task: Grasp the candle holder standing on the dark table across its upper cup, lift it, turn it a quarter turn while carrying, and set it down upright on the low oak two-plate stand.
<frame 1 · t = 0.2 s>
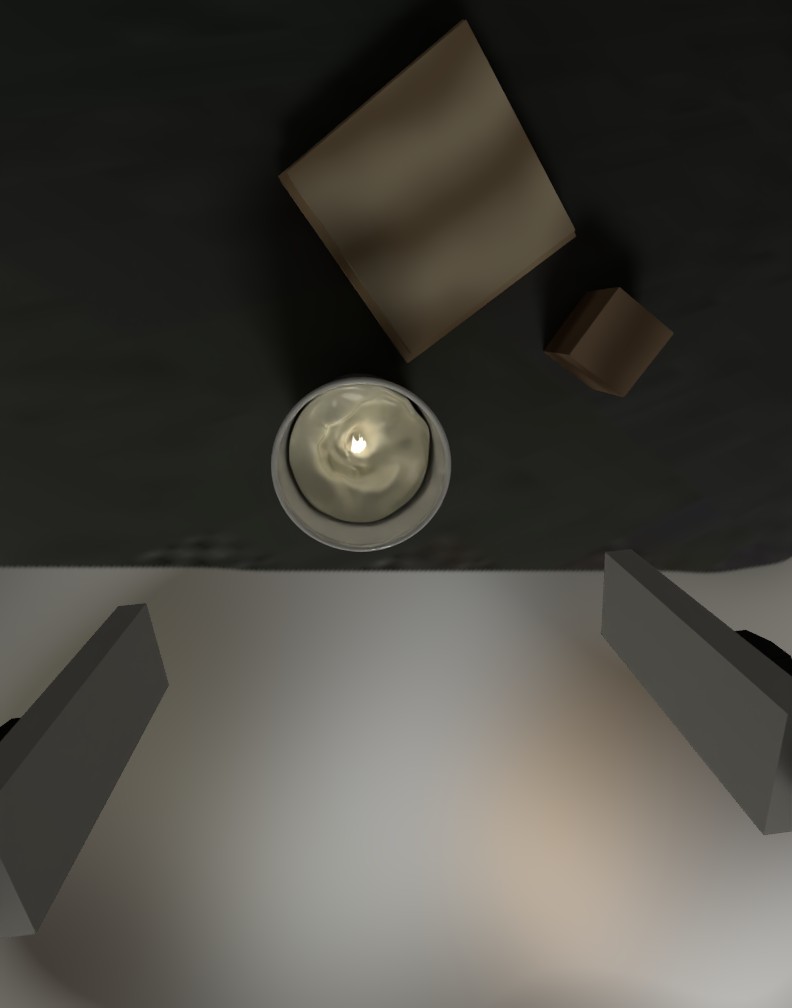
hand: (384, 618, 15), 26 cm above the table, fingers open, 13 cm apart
walnut block: (588, 341, 38), on the table
stand: (429, 212, 35), on the table
candle holder: (359, 427, 39), on the table
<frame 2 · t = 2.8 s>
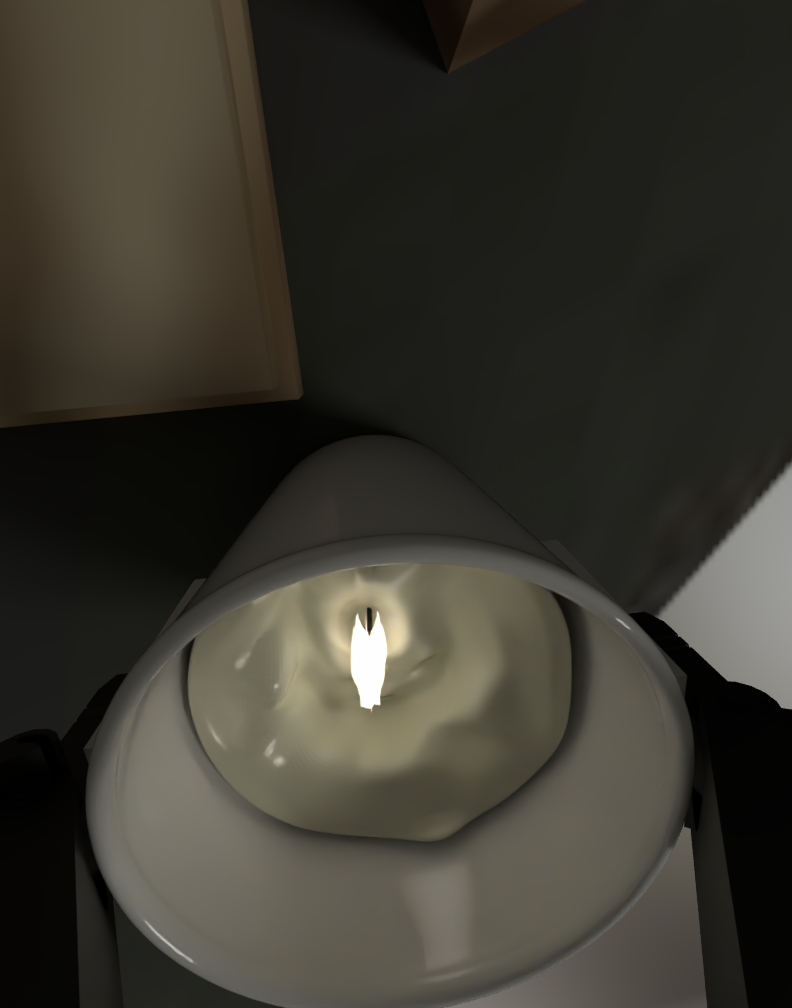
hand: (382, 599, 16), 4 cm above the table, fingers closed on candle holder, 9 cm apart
stand: (32, 176, 15), on the table
candle holder: (374, 538, 20), on the table, touching gripper
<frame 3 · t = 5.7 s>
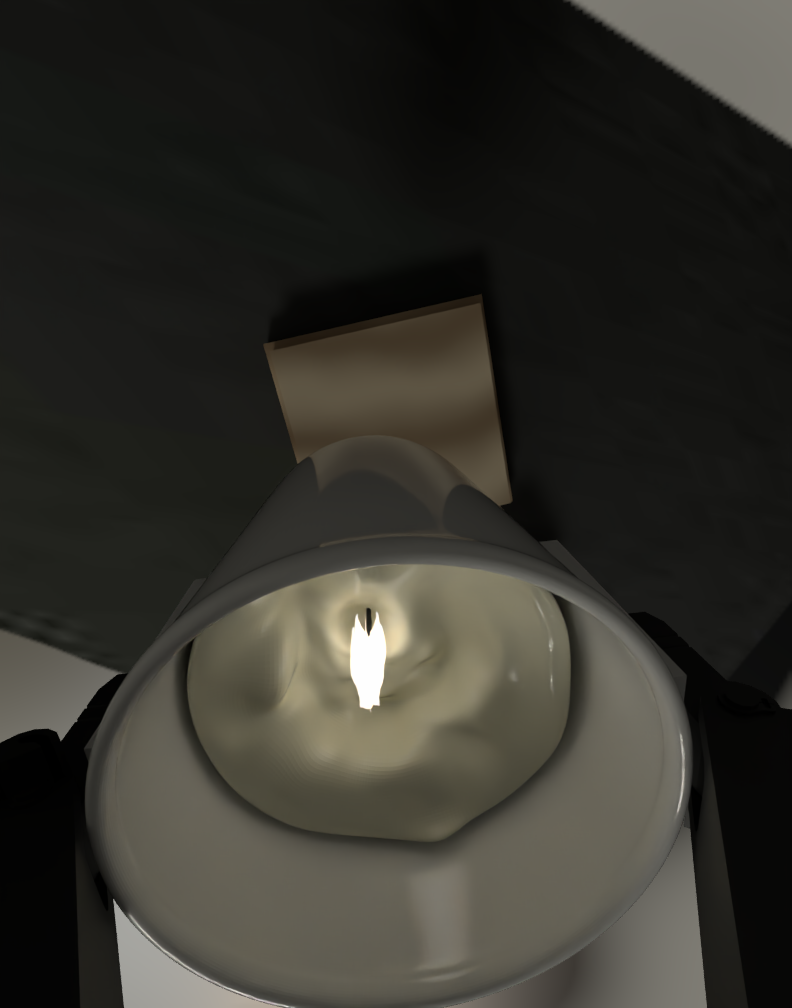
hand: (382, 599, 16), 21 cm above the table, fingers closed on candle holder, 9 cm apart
stand: (394, 424, 36), on the table
candle holder: (374, 538, 20), point 17 cm above the table, touching gripper
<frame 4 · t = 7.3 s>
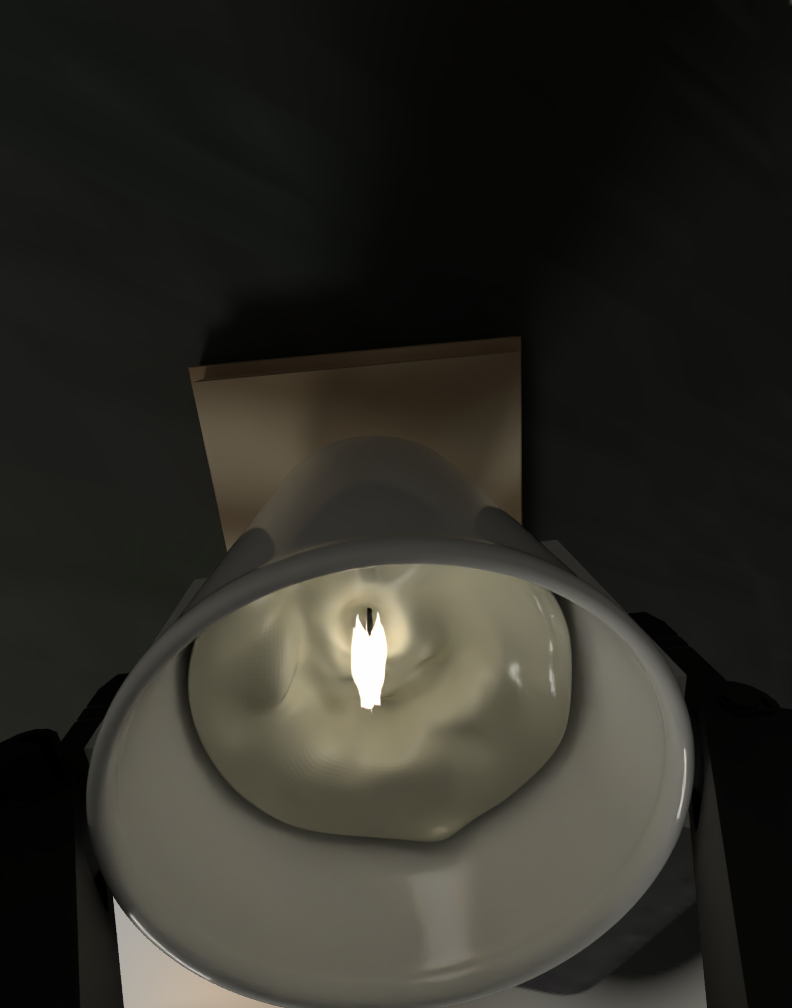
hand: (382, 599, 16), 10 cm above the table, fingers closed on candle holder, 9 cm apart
stand: (372, 498, 25), on the table
candle holder: (374, 538, 20), point 6 cm above the table, touching gripper
when the fingers open (7 cm above the table, at t = 8.8 s): candle holder stays where it is, resting on stand.
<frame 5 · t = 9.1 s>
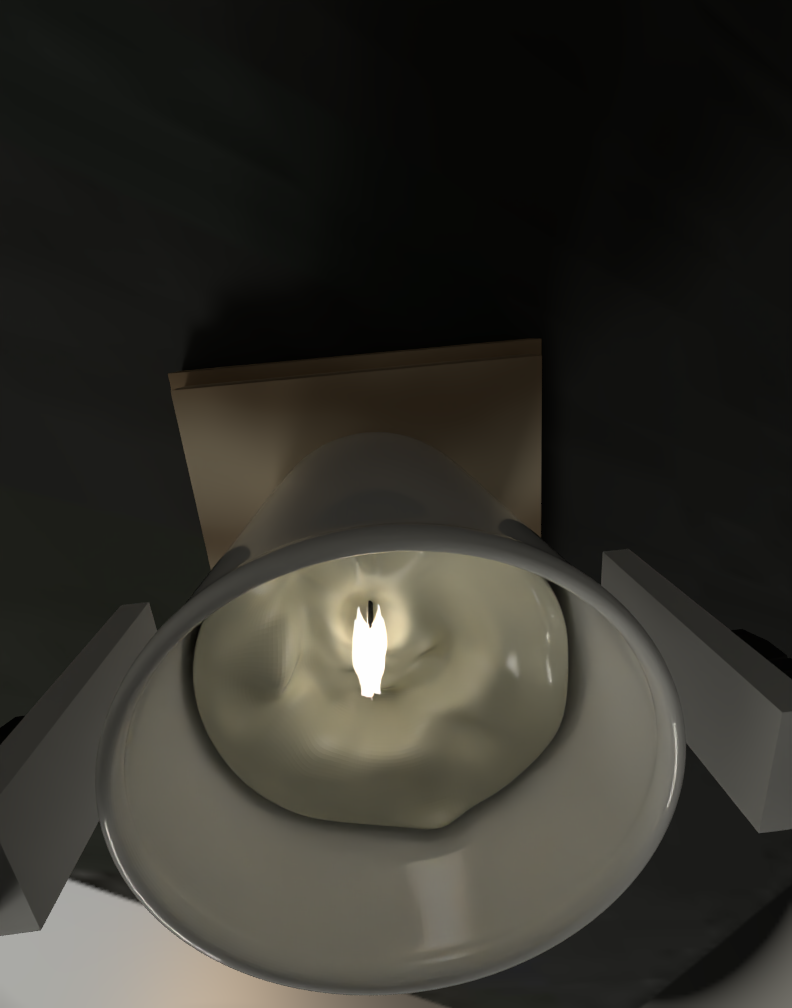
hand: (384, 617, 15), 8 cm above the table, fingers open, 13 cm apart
stand: (374, 517, 23), on the table
candle holder: (376, 534, 20), point 3 cm above the table, touching stand
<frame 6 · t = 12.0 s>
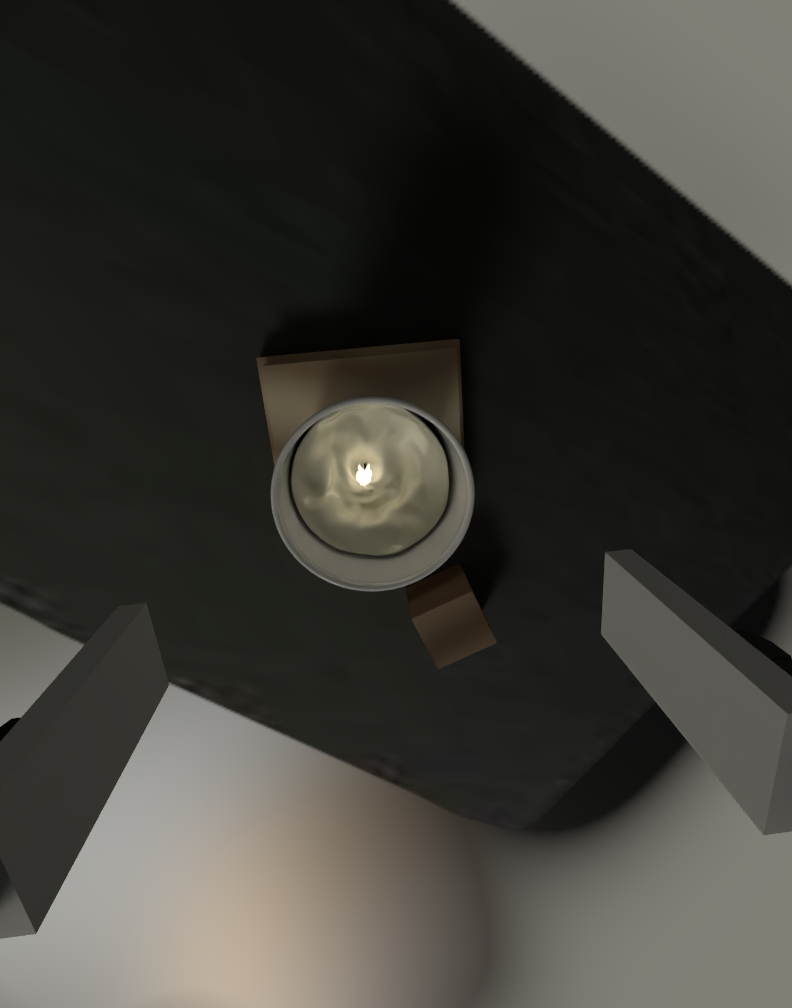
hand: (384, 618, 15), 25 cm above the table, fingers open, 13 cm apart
walnut block: (444, 598, 44), on the table
stand: (368, 443, 39), on the table
candle holder: (369, 447, 36), point 3 cm above the table, touching stand
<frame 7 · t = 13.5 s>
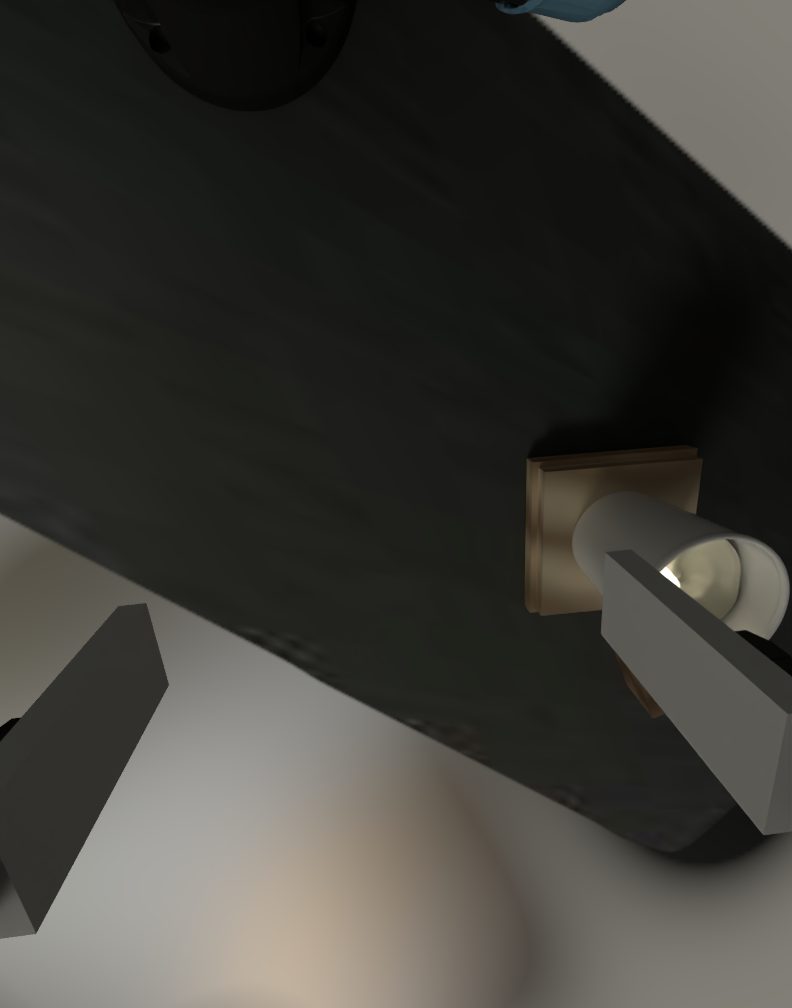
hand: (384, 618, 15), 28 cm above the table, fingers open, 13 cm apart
walnut block: (642, 654, 51), on the table
stand: (602, 527, 46), on the table
candle holder: (617, 536, 43), point 3 cm above the table, touching stand
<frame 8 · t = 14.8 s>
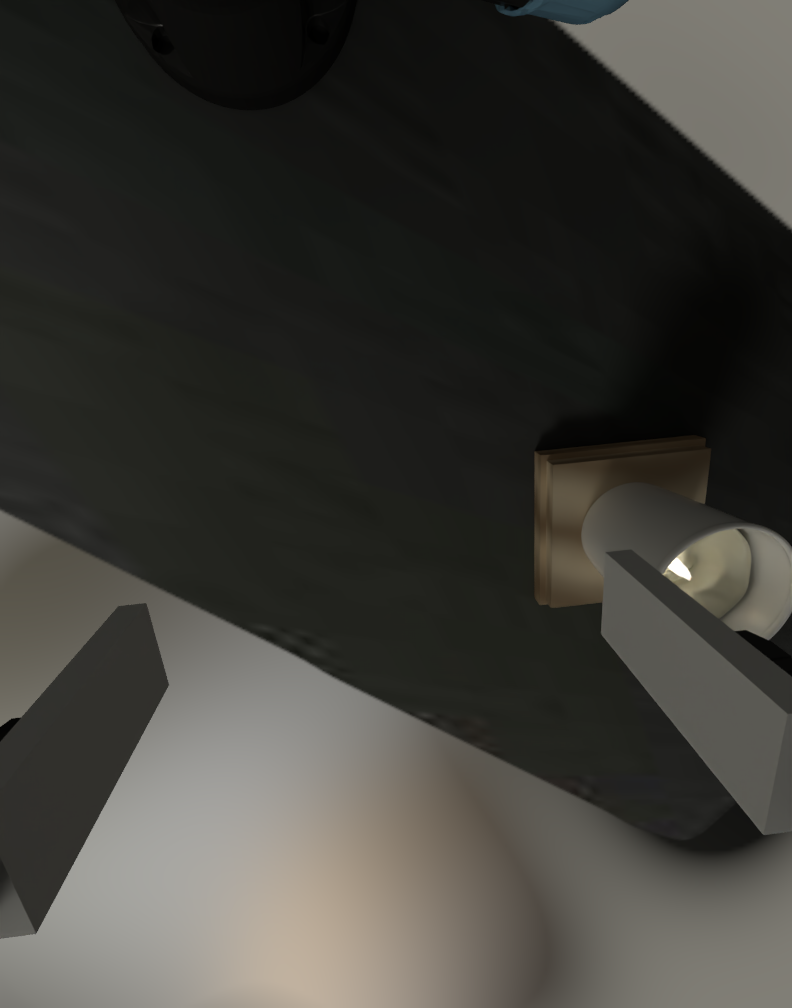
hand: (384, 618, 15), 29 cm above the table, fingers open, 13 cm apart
stand: (611, 519, 46), on the table
candle holder: (626, 527, 43), point 3 cm above the table, touching stand
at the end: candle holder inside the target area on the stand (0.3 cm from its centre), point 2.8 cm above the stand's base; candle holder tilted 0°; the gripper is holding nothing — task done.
